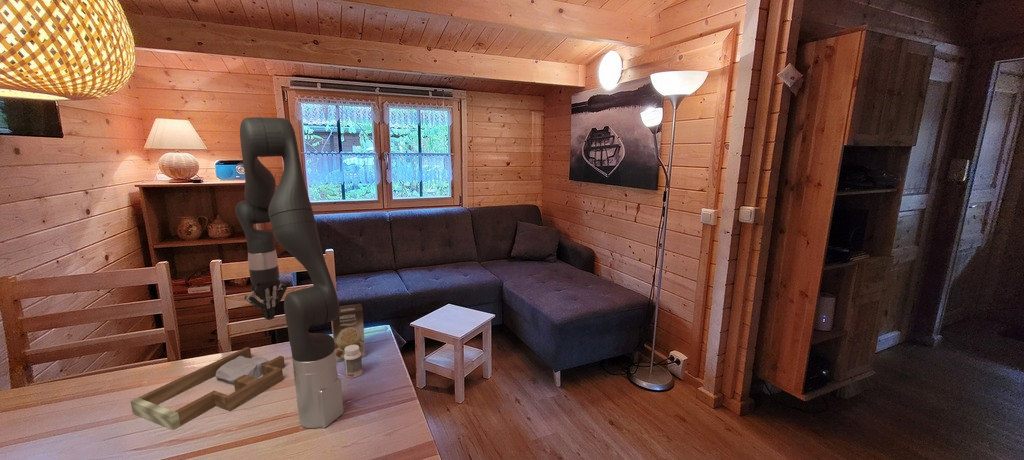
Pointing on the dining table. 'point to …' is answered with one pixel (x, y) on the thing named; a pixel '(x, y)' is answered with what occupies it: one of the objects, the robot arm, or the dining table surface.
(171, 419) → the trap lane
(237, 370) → the stone block
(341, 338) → the coffee box
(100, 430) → the dining table surface
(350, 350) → the pill bottle
